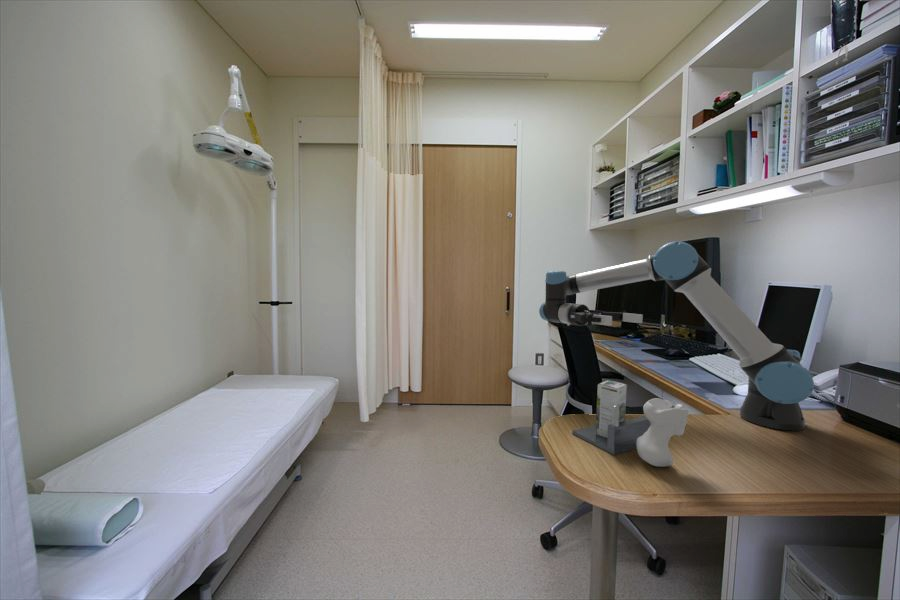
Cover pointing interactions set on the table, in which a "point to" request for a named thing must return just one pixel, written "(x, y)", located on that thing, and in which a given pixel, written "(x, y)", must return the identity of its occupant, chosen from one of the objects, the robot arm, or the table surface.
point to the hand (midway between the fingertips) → (627, 319)
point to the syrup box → (609, 405)
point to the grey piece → (616, 433)
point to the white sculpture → (661, 431)
